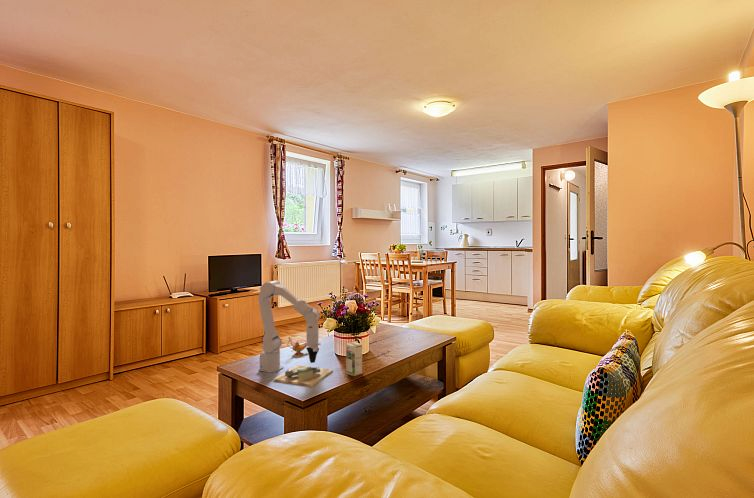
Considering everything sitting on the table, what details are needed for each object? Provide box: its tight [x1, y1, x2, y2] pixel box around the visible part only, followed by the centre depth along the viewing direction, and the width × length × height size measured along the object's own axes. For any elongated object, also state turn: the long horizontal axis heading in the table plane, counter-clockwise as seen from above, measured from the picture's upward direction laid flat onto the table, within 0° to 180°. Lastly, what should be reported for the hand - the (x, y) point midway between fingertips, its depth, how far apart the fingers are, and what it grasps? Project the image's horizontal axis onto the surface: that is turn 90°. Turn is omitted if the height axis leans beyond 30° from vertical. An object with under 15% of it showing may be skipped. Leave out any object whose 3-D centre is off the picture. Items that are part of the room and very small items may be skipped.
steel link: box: [284, 366, 321, 377], centre depth 174 cm, size 16×4×2 cm, turn 111°
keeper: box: [297, 366, 313, 379], centre depth 172 cm, size 6×4×4 cm, turn 110°
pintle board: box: [272, 365, 334, 387], centre depth 176 cm, size 20×20×2 cm
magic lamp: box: [286, 336, 308, 357], centre depth 212 cm, size 7×18×11 cm, turn 137°
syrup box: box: [345, 341, 363, 377], centre depth 179 cm, size 6×6×14 cm
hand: (312, 362), depth 182 cm, fingers closed
